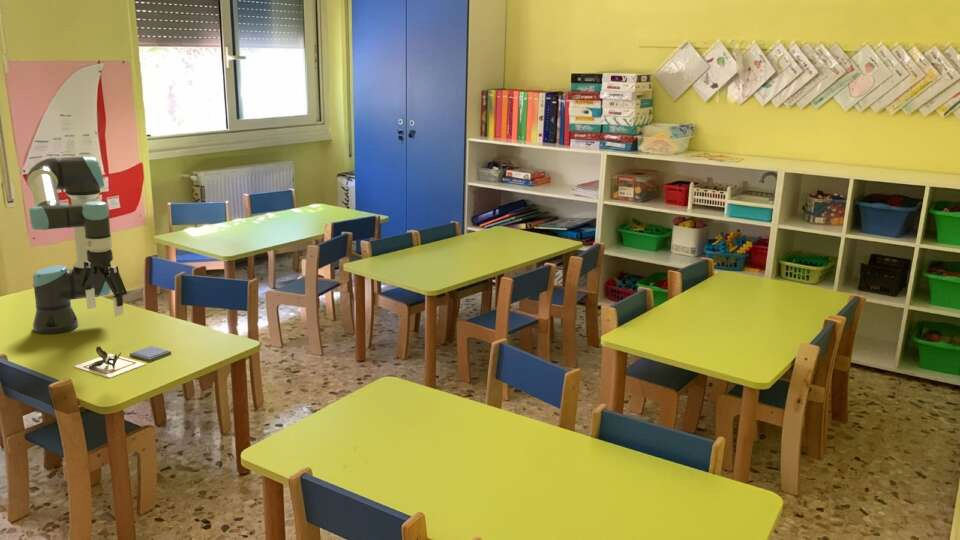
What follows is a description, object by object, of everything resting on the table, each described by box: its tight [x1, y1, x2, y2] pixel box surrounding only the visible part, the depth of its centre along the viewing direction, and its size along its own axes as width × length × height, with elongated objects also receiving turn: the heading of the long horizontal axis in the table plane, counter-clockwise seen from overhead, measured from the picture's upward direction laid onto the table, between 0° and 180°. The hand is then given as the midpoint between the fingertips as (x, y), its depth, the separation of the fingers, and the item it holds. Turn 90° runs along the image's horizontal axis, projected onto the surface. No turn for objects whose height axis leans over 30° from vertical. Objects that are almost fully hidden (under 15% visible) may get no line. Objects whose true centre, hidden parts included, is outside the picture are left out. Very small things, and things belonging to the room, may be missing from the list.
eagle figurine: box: [89, 346, 122, 368], centre depth 263 cm, size 8×7×9 cm
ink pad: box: [129, 345, 172, 362], centre depth 277 cm, size 10×9×1 cm
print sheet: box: [73, 353, 147, 379], centre depth 266 cm, size 18×14×1 cm
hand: (105, 311), depth 262 cm, fingers open, 13 cm apart
